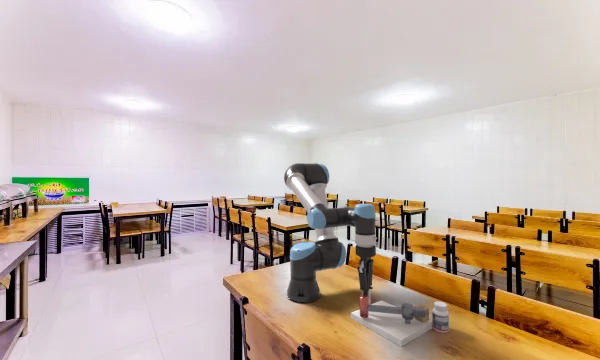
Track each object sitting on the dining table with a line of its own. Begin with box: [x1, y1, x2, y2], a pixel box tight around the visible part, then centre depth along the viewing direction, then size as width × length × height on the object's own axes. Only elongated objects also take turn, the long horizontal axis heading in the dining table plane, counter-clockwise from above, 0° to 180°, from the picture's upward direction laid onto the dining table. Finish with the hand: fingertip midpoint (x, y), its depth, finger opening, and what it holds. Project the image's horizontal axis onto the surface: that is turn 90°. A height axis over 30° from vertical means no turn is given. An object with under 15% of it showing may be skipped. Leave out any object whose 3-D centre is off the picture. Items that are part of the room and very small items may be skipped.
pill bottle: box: [431, 301, 450, 334], centre depth 96 cm, size 5×5×9 cm
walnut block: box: [413, 303, 430, 323], centre depth 98 cm, size 4×4×4 cm
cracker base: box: [350, 299, 433, 347], centre depth 100 cm, size 22×18×4 cm
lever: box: [358, 294, 425, 320], centre depth 97 cm, size 22×4×7 cm, turn 77°
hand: (366, 306), depth 103 cm, fingers closed
